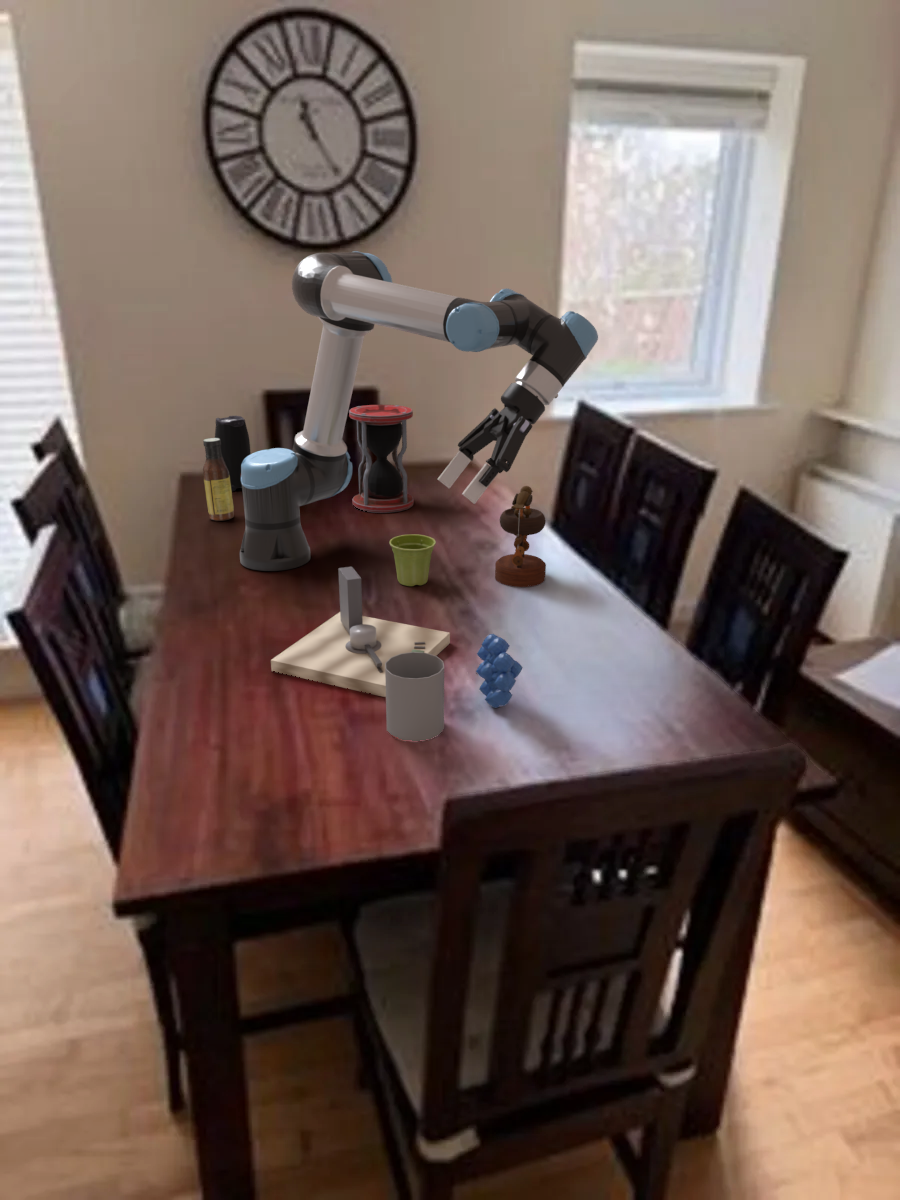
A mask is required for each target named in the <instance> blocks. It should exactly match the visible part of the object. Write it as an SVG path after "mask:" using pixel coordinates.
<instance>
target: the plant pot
mask: <svg viewBox="0 0 900 1200" xmlns="http://www.w3.org/2000/svg"><path fill="white" fill-rule="evenodd" d="M388 543H389V546H390V547H391V549H392V550H391V551H392V552H393V557H394V563H395V569H396V570H395V571H396V577H397V581H398V583H399V584H400V585H403V586H406V587H414V586H423V585H426V583H427V582H428V579H429V571H430V565H431V559H432V552H433V550H434V547H435V545H436V544H437V543H436V540H435V538H433V537H431V536H428V535H424V534H417V533H416V534H402V535H401V534H400V535H398V536H397V535H396V536H394V537H392V538H391V539H390V540H389V542H388Z"/></svg>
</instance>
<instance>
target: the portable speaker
mask: <svg viewBox="0 0 900 1200" xmlns="http://www.w3.org/2000/svg"><path fill="white" fill-rule="evenodd" d="M245 419H246V418H244V417H243V416H241V415H229V416H227V417H216V418H215V431H214V438H218V439H220V442H221V445H220V447H221V454H222V457H223V460H224V462H225V464H226V467H227V469H228V471H229V476H230V483H231V491H232V492H235V491H236V490H237V489H242V484H241V465H242V462H243V460H244V459H245V458H246V457H247V456H249V455H250V454H252V453H251V443H250V436H249V432H248V428H247V424H246V420H245Z"/></svg>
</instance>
